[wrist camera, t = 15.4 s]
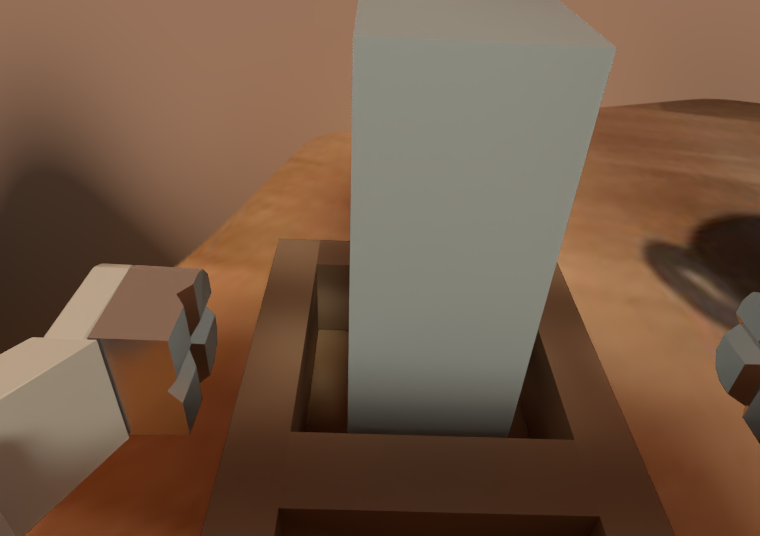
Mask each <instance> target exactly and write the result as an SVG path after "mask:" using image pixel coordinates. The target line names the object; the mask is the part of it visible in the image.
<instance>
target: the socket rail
mask: <svg viewBox="0 0 760 536" xmlns="http://www.w3.org/2000/svg"><path fill="white" fill-rule="evenodd" d="M349 285H350V241H332V240H305V239H279V241H278V245H277V248H276V252H275V256H274V260H273V263H272V267H271V271H270V275H269V279H268V282H267V286H266V290H265V294H264V297H263V301H262V305H261V309H260V313H259V316H258V320H257V324H256V328H255V332H254V335H253V339H252V343H251V347H250V350H249V354H248V358H247V362H246V366H245V369H244V373H243V377H242V381H241V384H240V388H239V392H238V396H237V400H236V403H235V407H234V411H233V415H232V419H231V422H230V426H229V430H228V434H227V437H226V441H225V445H224V449H223V453H222V456H221V460H220V464H219V468H218V471H217V475H216V479H215V483H214V487H213V490H212V494H211V498H210V502H209V505H208V509H207V513H206V517H205V521H204V524H203V528H202V532H201V536H675V534H674V532H673V529H672V527H671V525H670V522H669V520H668V518H667V515H666V513H665V511H664V508H663V506H662V504H661V502H660V499H659V497H658V495H657V492H656V490H655V488H654V485H653V483H652V481H651V478H650V476H649V474H648V471H647V469H646V467H645V464H644V462H643V460H642V458H641V455H640V453H639V451H638V448H637V446H636V444H635V441H634V439H633V437H632V434H631V432H630V430H629V427H628V425H627V423H626V420H625V418H624V416H623V414H622V411H621V409H620V407H619V404H618V402H617V400H616V397H615V395H614V393H613V390H612V388H611V386H610V383H609V381H608V379H607V376H606V374H605V372H604V369H603V367H602V365H601V363H600V360H599V358H598V356H597V353H596V351H595V349H594V346H593V344H592V342H591V339H590V337H589V335H588V332H587V330H586V328H585V325H584V323H583V321H582V319H581V316H580V314H579V312H578V309H577V307H576V305H575V302H574V300H573V298H572V295H571V293H570V291H569V288H568V286H567V284H566V281H565V279H564V277H563V275H562V272H561V270H560V268H559V265H558V263H556V267H555V270H554V274H553V278H552V281H551V285H550V288H549V292H548V295H547V299H546V303H545V306H544V310H543V313H542V317H541V321H540V324H539V328H538V331H537V335H536V339H535V342H534V346H533V349H532V353H531V356H530V360H529V364H528V367H527V371H526V374H525V378H524V382H523V385H522V389H521V392H520V400H521V404H522V408H523V412H524V415H525V419H526V423H527V427H528V431H529V435H530V439H524V438H489V437H455V436H420V435H386V434H351V433H317V432H305V427H306V419H307V411H308V404H309V396H310V389H311V381H312V373H313V366H314V358H315V351H316V343H317V335H318V329H333V330H349Z"/></svg>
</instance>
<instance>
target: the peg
mask: <svg viewBox="0 0 760 536" xmlns="http://www.w3.org/2000/svg"><path fill="white" fill-rule="evenodd" d="M615 51H616V47H615V46H614V45H612V44H611V43H610V42H609V41H608V40H606V39H605V38H604V37H603V36H601V35H600V34H599V33H598V32H597V31H595V30H594V29H593V28H592V27H591V26H590V25H588V24H587V23H586V22H584V21H583V20H582V19H581V18H580V17H579V16H577V15H576V14H575V13H573V12H572V11H571V10H570V9H569V8H568V7H566V6H565V5H564V4H563V3H562V2H560V1H559V0H359V1H358V8H357V14H356V20H355V26H354V33H353V76H352V146H351V215H350V285H349V355H348V425H347V433H351V434H386V435H420V436H455V437H489V438H508V435H509V432H510V428H511V425H512V421H513V417H514V414H515V410H516V407H517V403H518V399H519V396H520V392H521V389H522V385H523V382H524V378H525V374H526V371H527V367H528V364H529V360H530V356H531V353H532V349H533V346H534V342H535V339H536V335H537V331H538V328H539V324H540V321H541V317H542V313H543V310H544V306H545V303H546V299H547V295H548V292H549V288H550V285H551V281H552V278H553V274H554V270H555V267H556V263H557V260H558V256H559V252H560V249H561V245H562V242H563V238H564V234H565V231H566V227H567V224H568V220H569V217H570V213H571V209H572V206H573V202H574V199H575V195H576V191H577V188H578V184H579V181H580V177H581V173H582V170H583V166H584V163H585V159H586V156H587V152H588V148H589V145H590V141H591V138H592V134H593V130H594V127H595V123H596V120H597V116H598V112H599V109H600V105H601V102H602V98H603V95H604V91H605V87H606V84H607V80H608V76H609V73H610V69H611V66H612V62H613V59H614V55H615Z"/></svg>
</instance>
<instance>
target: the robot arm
mask: <svg viewBox="0 0 760 536" xmlns="http://www.w3.org/2000/svg"><path fill="white" fill-rule="evenodd" d="M210 294H211V288H210V283H209V278H208V274H207V273H206V272H205V271H204V270H203V269H191V268H175V267H159V266H141V265H136V266H133V265H120V264H100V265H98V266H95V267H94V268H93V269H92V270H91V271H90V273H89V274H88V276H87V277H86V278H85V280H84V281H83V283H82V284H81V285H80V287H79V288H78V290H77V291H76V293H75V294H74V295H73V297H72V298H71V299H70V301H69V302H68V304H67V305H66V307H65V308H64V309H63V311H62V312H61V314H60V315H59V316H58V318H57V319H56V321H55V322H54V323H53V325H52V326H51V328H50V329H49V330H48V332H47V333H46V335H45V336H44V337H43V338H35V337H32V338H30V339H28V340H26V341H25V342H22V343H21V344H19V345H17V346H15V347H13V348H11V349H10V350H8V351H6V352H4V353H2V354H0V536H24V535H25V534H26V533H28V532H29V531H30V530H31V529H32V528H33V527H34V526H35V525H36V524H37V523H38V522H39V521H40V520H42V519H43V518H44V517H45V516H46V515H47V514H48V513H49V512H50V511H51V510H52V509H53V508H54V507H56V506H57V505H58V504H59V503H60V502H61V501H62V500H63V499H64V498H65V497H66V496H67V495H68V494H70V493H71V492H72V491H73V490H74V489H75V488H76V487H77V486H78V485H79V484H80V483H81V482H82V481H84V480H85V479H86V478H87V477H88V476H89V475H90V474H91V473H92V472H93V471H94V470H95V469H96V468H98V467H99V466H100V465H101V464H102V463H103V462H104V461H105V460H106V459H107V458H108V457H109V456H110V455H112V454H113V453H114V452H115V451H116V450H117V449H118V448H119V447H120V446H121V445H122V444H123V443H124V442H126V441H127V440H128V439H129V435H190V433H191V430H192V427H193V425H194V422H195V419H196V416H197V413H198V410H199V407H200V404H201V401H202V394H201V388H200V383H201V382H202V381H203V380H205V379H206V378H207V377H208V376H210V374H211V371H212V367H213V364H214V361H215V354H216V347H217V325H216V318H215V314H214V313H213V312H212V311H210V310H209V309H208V308H207V307H206V305H207V302H208V299H209V297H210ZM736 314H737V317H738V320H739V323H740V324H739V325H737V326H736V327H734V328H733V329H731V330H730V331H728V332H727V333H725V334H724V336H723V338H722V340H721V342H720V344H719V346H718V348H717V350H716V370H717V374H718V377H719V381H720V382H721V384H722V386H723V387H724V389H725V390H726V392H727V394H729V395H730V396H732V397H733V398H735V399H736V400H737V401H739V402H740V403H742V404H743V405H745V408H744V412H743V419H744V420H745V422H746V423H747V425H748V426H749V428H750V429H751V431H752V432H753V434H754V436H755V437H756V439H757V440H758V442H759V443H760V292H752V293H751V294H750V295H749V296H747V297H746V298H745V299H743V301H742V303H741V305H740V306H739V308H738V310H737V312H736Z"/></svg>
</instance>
